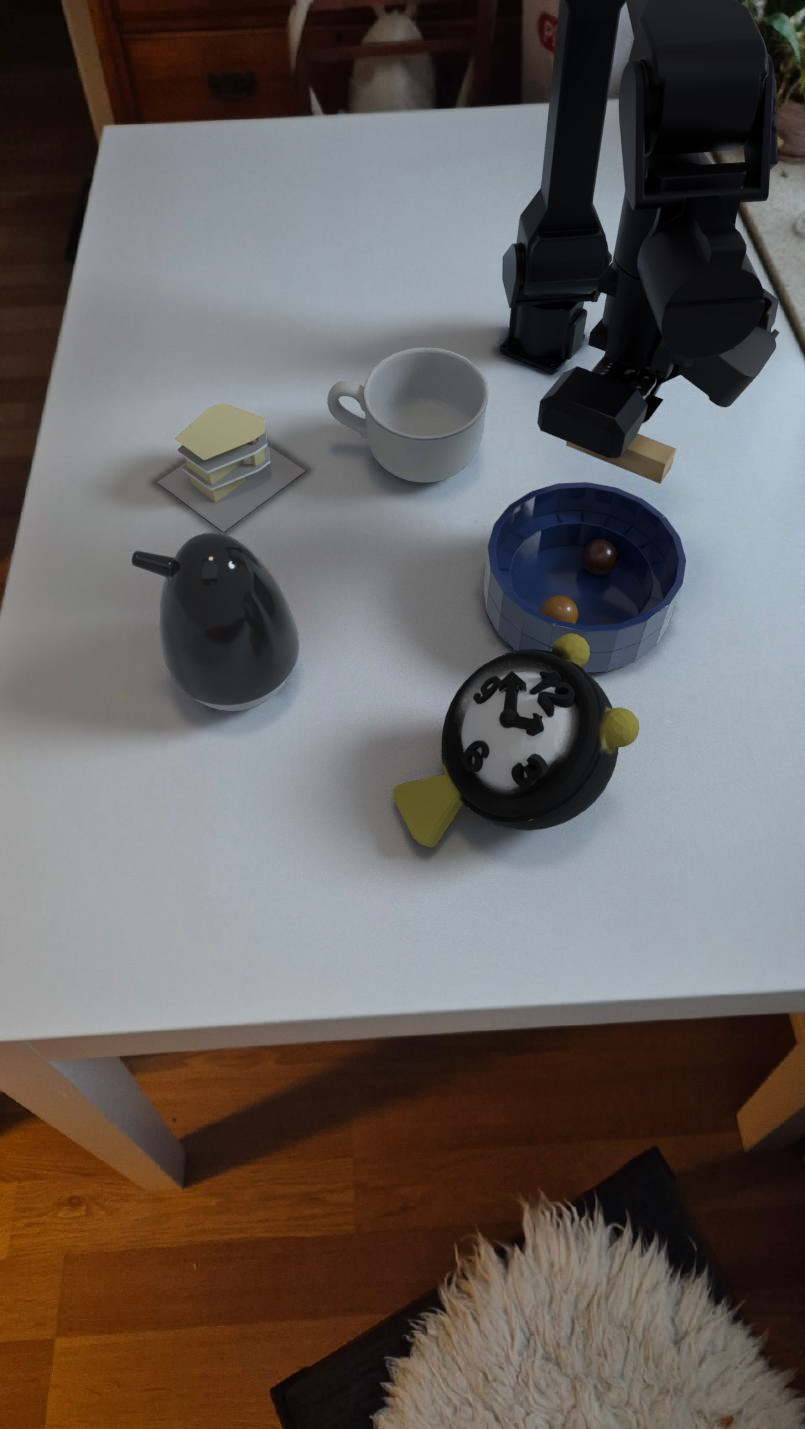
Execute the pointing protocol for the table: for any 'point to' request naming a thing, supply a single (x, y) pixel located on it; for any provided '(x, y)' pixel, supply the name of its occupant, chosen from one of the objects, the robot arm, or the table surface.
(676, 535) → the bowl
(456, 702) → the alarm clock
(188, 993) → the table surface
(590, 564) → the bead
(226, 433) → the stacked layers on plate
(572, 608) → the bead
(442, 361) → the teacup
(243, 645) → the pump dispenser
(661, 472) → the stick
